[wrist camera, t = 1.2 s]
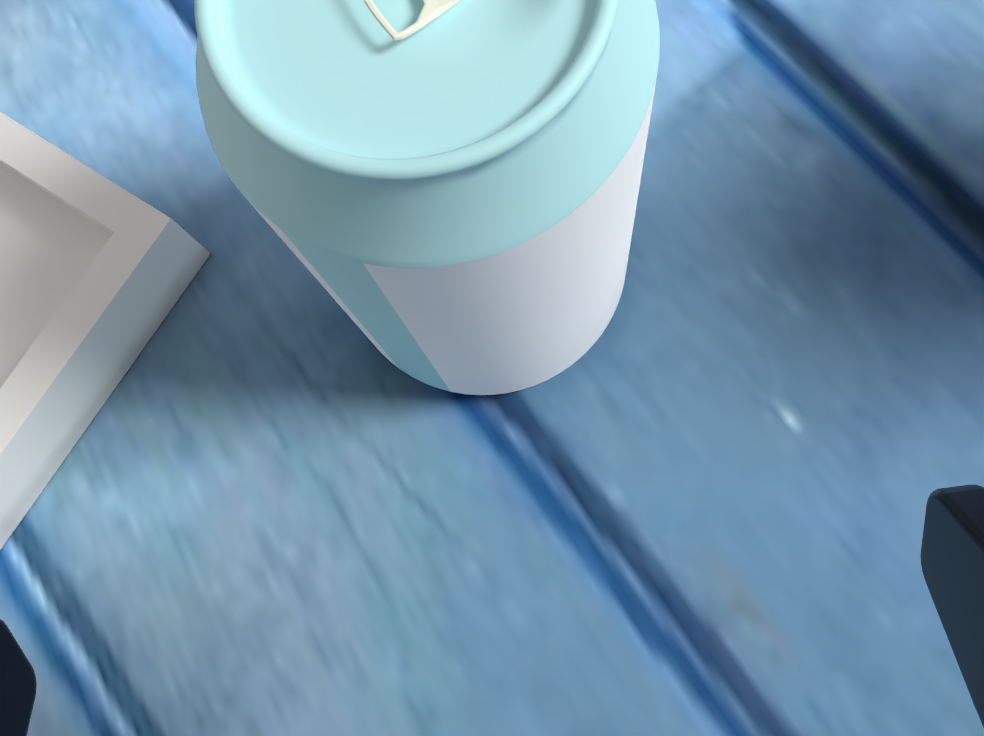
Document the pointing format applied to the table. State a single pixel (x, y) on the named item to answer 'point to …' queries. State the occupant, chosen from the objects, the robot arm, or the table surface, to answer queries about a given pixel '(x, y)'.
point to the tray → (71, 303)
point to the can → (443, 165)
